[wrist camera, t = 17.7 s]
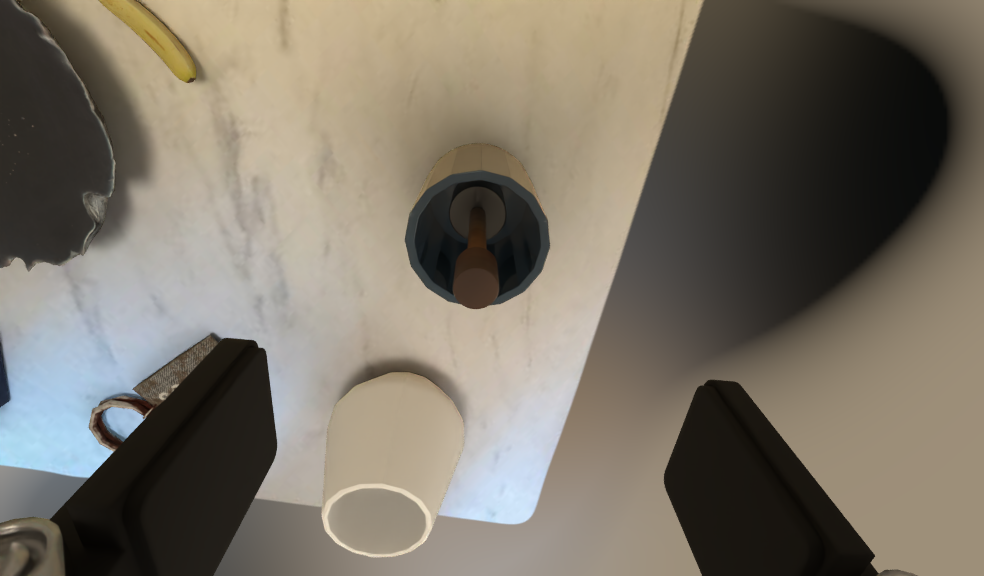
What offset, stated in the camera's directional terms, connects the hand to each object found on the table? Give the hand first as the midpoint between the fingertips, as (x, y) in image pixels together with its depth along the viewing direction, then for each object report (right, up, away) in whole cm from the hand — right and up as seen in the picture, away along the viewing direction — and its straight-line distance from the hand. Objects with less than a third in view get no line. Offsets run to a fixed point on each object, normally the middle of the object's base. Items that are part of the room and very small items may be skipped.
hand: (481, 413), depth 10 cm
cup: (-9, -10, +39) cm, 42 cm away
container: (-1, +10, +29) cm, 31 cm away
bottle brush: (-1, +10, +29) cm, 31 cm away
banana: (-24, +22, +24) cm, 40 cm away
